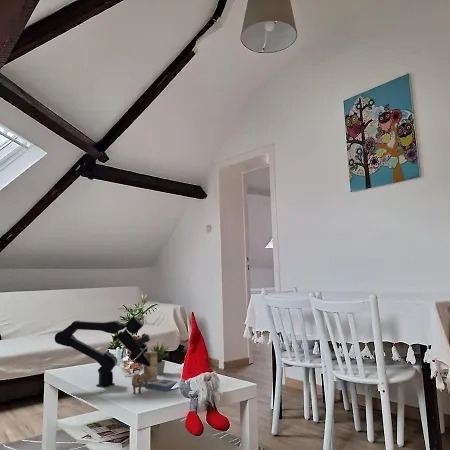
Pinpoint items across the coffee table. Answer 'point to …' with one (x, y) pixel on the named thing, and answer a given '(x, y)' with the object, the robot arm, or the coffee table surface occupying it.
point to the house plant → (159, 354)
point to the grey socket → (163, 381)
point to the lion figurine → (139, 382)
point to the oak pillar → (151, 366)
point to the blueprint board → (158, 387)
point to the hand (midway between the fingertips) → (151, 363)
